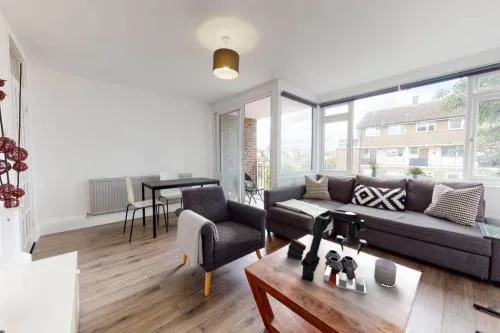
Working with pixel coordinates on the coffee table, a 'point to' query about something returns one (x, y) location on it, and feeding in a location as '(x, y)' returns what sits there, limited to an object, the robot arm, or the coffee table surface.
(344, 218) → the robot arm
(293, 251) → the magazine
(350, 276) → the lead
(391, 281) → the can
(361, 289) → the white twin post stand
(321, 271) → the coffee table surface
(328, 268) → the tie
